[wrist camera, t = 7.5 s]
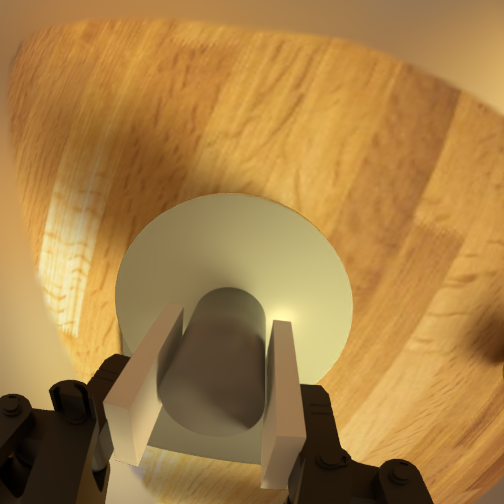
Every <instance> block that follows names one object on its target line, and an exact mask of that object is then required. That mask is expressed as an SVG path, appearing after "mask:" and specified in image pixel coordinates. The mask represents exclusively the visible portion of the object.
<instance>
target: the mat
mask: <svg viewBox="0 0 504 504" xmlns="http://www.w3.org/2000/svg"><path fill="white" fill-rule="evenodd" d="M122 341H123V355H124V356H128V357H132V355H133V354H132V352H131V351H130V349H129V347H128V345H127V343H126V341H125V339H124V337H123V334H122ZM147 445H149V446H153V447H157V448H161V449H165V450H170V451H174V452H179V453H184V454H189V455H194V456H200V457H206V458H212V459H218V460H225V461H233V462H241V463H249V464H259V465H261V452H262V417H261V419H260V420H259V421H258V423H257V424H256V425H255V426H254V427H252V428H251V429H249V430H247V431H245V432H243V433H241V434H238V435H234V436H228V437H213V436H206V435H202V434H198V433H195V432H193V431H190V430H188V429H186V428H184V427H183V426H181V425H180V424H178V423H177V422H176V421H174V420H173V419H172V418H171V417H170V416H169V414H168V413H167V412H166V410H165V409H164V407H163V405H162V407H161V410H160V412H159V415H158V417H157V420H156V422H155V425H154V427H153V430H152V432H151V435H150V437H149V440H148V442H147Z"/></svg>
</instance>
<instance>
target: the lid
mask: <svg viewBox="0 0 504 504" xmlns="http://www.w3.org/2000/svg"><path fill="white" fill-rule="evenodd" d="M167 303H169V304H175V305H181V306H184V313H183V333H182V338H181V340H180V343H179V345H178V347H177V349H176V351H175V354H174V356H173V358H172V360H171V362H170V365H169V367H168V369H167V371H166V373H165V376H164V378H163V380H162V382H161V385H160V399H161V403H162V405H163V407H164V409H165V410H166V412H167V413H168V414H169V416H170V417H171V418H172V419H173V420H174V421H176V422H177V423H178V424H180V425H181V426H183V427H184V428H186V429H188V430H190V431H193V432H195V433H198V434H202V435H206V436H213V437H228V436H234V435H238V434H241V433H243V432H245V431H247V430H249V429H251V428H252V427H254V426H255V425H256V424H257V423H258V421H259V420H260V419H261V417H262V415H263V412H264V408H265V362H266V356H267V350H268V345H269V340H270V335H271V330H272V324H273V320H281V321H289V322H291V324H292V331H293V338H294V345H295V353H296V360H297V367H298V375H299V382H300V384H309V385H315V384H316V383H317V382H318V381H320V380H321V379H322V378H323V377H324V376H325V375H326V373H327V372H328V371H329V370H330V369H331V368H332V366H333V365H334V364H335V362H336V361H337V359H338V358H339V356H340V354H341V352H342V350H343V349H344V346H345V344H346V341H347V338H348V336H349V332H350V328H351V323H352V312H353V302H352V291H351V287H350V283H349V279H348V275H347V273H346V271H345V268H344V266H343V263H342V261H341V260H340V258H339V256H338V254H337V253H336V251H335V249H334V248H333V247H332V245H331V244H330V243H329V241H328V240H327V239H326V238H325V236H324V235H323V234H322V233H321V232H320V230H319V229H317V228H316V227H315V226H314V225H313V224H312V223H311V222H310V221H309V220H308V219H306V218H305V217H303V216H302V215H301V214H299V213H298V212H296V211H295V210H293V209H291V208H289V207H287V206H285V205H283V204H281V203H279V202H276V201H274V200H271V199H268V198H265V197H261V196H256V195H251V194H246V193H230V192H229V193H216V194H209V195H204V196H200V197H196V198H193V199H190V200H188V201H185V202H182V203H180V204H178V205H176V206H174V207H172V208H171V209H169V210H167V211H165V212H163V213H162V214H160V215H159V216H157V217H156V218H155V219H154V220H152V221H151V222H150V223H148V224H147V225H146V226H145V227H144V228H143V229H142V231H141V232H140V233H139V234H138V235H137V236H136V237H135V239H134V240H133V242H132V243H131V245H130V246H129V248H128V250H127V252H126V253H125V255H124V257H123V259H122V262H121V265H120V268H119V271H118V275H117V281H116V287H115V304H116V313H117V318H118V322H119V326H120V329H121V332H122V334H123V337H124V339H125V341H126V343H127V345H128V347H129V349H130V351H131V352H132V354H134V352H135V351H136V349H137V348H138V346H139V344H140V343H141V341H142V340H143V338H144V337H145V335H146V334H147V332H148V331H149V329H150V328H151V326H152V325H153V323H154V322H155V320H156V319H157V317H158V316H159V314H160V313H161V311H162V310H163V308H164V307H165V305H166V304H167Z"/></svg>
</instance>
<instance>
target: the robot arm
mask: <svg viewBox="0 0 504 504" xmlns="http://www.w3.org/2000/svg"><path fill="white" fill-rule="evenodd" d="M183 313H184V306H181V305H175V304H169V303H167V304H166V305H165V307H164V308H163V310H162V311H161V313H160V314H159V316H158V317H157V319H156V320H155V322H154V323H153V325H152V326H151V328H150V329H149V331H148V332H147V334H146V335H145V337H144V338H143V340H142V341H141V343H140V344H139V346H138V348H137V349H136V351H135V352H134V354H133V355H132V357H128V356H124V355H120V354H114V355H112V356H111V357H109V358H107V359H106V360H105V361H104V362H103V363H102V365H101V366H100V367H99V370H97V372H96V373H95V374H94V377H92V378H91V380H90V381H89V382H88V384H87V385H86V384H85V383H83V382H80V381H77V380H64V381H60V382H58V383H56V384H54V385H53V386H52V387H51V388H50V390H49V393H50V397H51V400H52V403H53V406H54V410H55V411H52V410H42V409H34V408H32V407H31V404H30V402H29V400H28V399H26V398H25V397H24V396H22V395H18V394H8V395H5V396H2V397H1V398H0V504H105V500H106V493H107V487H108V481H109V475H110V464H109V459H110V457H111V455H112V453H113V451H114V455H115V459H116V460H117V461H120V462H123V463H126V464H130V465H133V466H137V467H138V466H139V463H140V460H141V458H142V455H143V453H144V450H145V448H146V445H147V442H148V440H149V437H150V435H151V432H152V430H153V427H154V425H155V422H156V420H157V417H158V415H159V412H160V410H161V407H162V403H161V399H160V385H161V382H162V380H163V378H164V376H165V373H166V371H167V369H168V367H169V365H170V362H171V360H172V358H173V356H174V354H175V351H176V349H177V347H178V345H179V343H180V340H181V338H182V333H183ZM287 484H288V489H289V495H288V497H287V499H286V501H285V503H284V504H434V503H433V501H432V499H431V496H430V494H429V492H428V490H427V487H426V485H425V483H424V481H423V478H422V476H421V474H420V472H419V470H418V469H417V468H416V466H415V465H413V464H412V463H410V462H409V461H406V460H403V459H391V460H388V461H386V462H385V463H383V464H382V465H381V466H380V467H375V466H370V465H365V464H361V463H358V462H356V461H354V460H352V459H351V456H350V455H349V454H348V453H347V451H345V450H344V449H342V448H341V445H340V441H339V437H338V432H337V428H336V423H335V419H334V415H333V410H332V407H331V402H330V398H329V394H328V393H327V392H326V391H325V390H324V388H323V387H322V386H321V385H309V384H300V382H299V375H298V367H297V360H296V353H295V345H294V338H293V331H292V324H291V322H289V321H281V320H273V324H272V330H271V335H270V340H269V345H268V350H267V356H266V362H265V408H264V412H263V415H262V452H261V485H260V488H262V489H276V490H285V488H286V486H287Z"/></svg>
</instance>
